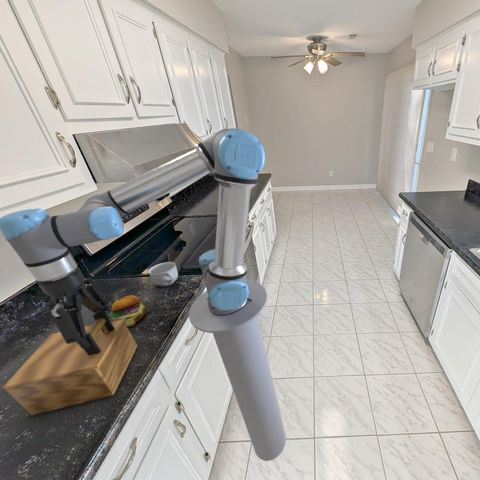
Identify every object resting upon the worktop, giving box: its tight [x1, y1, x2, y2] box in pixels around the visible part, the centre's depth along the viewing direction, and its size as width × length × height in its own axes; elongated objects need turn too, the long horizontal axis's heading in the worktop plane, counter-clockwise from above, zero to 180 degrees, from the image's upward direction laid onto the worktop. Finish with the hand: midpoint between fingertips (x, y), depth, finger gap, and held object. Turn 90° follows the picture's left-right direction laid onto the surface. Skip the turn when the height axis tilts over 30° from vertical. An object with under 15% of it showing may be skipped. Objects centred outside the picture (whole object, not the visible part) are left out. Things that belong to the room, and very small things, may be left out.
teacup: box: [147, 261, 179, 287], centre depth 113 cm, size 14×11×8 cm
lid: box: [2, 318, 126, 390], centre depth 68 cm, size 20×17×6 cm
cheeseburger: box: [109, 294, 146, 328], centre depth 94 cm, size 10×11×10 cm
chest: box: [4, 324, 138, 416], centre depth 72 cm, size 19×17×11 cm
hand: (102, 341), depth 71 cm, fingers open, 7 cm apart
